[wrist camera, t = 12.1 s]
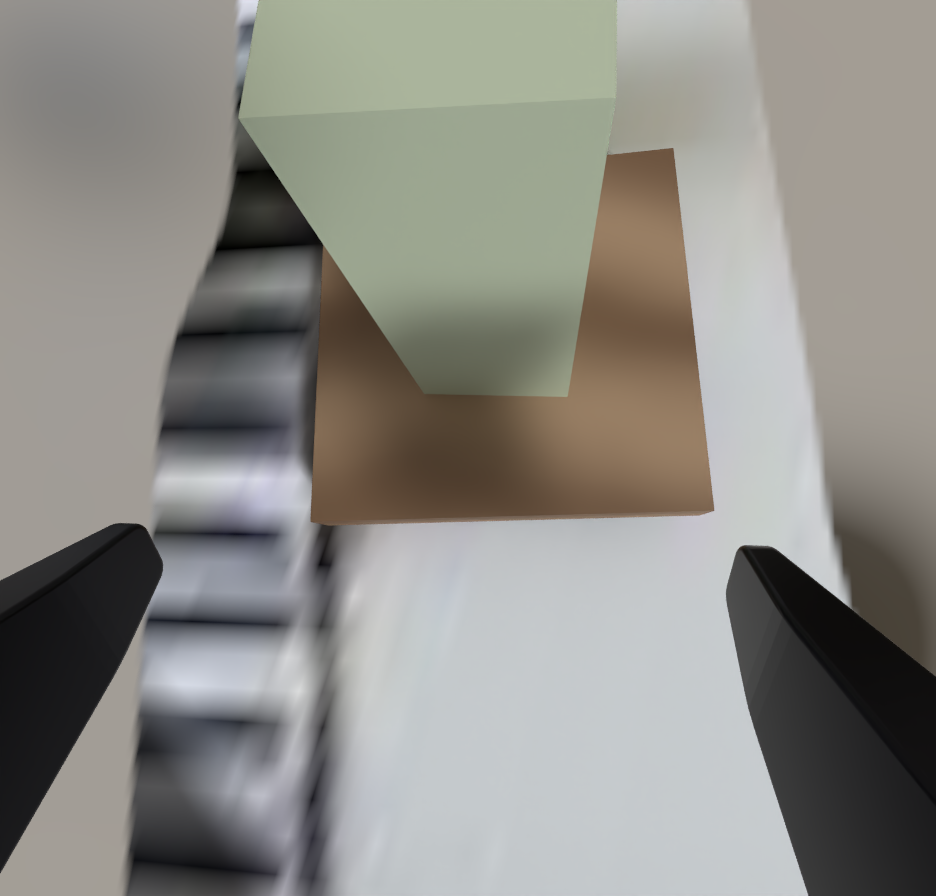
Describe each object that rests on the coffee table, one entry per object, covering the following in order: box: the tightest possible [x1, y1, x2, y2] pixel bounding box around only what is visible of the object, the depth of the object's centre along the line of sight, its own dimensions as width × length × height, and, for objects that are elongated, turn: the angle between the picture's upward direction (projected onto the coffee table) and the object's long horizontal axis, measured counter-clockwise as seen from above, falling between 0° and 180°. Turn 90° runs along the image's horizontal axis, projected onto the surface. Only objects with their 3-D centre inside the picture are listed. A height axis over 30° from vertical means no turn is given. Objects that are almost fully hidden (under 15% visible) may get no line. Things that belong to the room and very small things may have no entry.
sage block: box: [238, 0, 617, 397], centre depth 12 cm, size 4×4×11 cm
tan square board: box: [311, 148, 714, 525], centre depth 19 cm, size 12×12×3 cm
